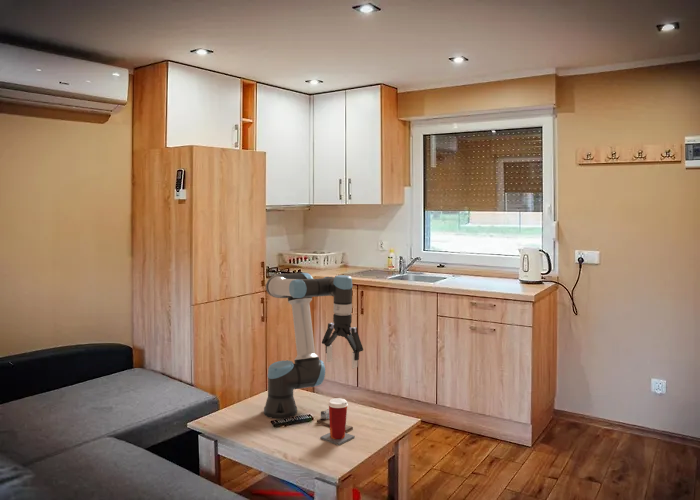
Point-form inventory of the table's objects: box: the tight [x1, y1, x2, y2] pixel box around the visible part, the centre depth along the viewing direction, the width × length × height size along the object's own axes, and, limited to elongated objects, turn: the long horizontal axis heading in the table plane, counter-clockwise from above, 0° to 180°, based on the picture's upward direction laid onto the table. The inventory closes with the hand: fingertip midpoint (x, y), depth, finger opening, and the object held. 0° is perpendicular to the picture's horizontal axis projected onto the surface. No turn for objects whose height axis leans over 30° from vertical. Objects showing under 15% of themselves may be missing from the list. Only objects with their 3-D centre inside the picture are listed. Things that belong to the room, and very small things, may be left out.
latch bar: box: [320, 408, 329, 419], centre depth 260 cm, size 15×3×3 cm, turn 144°
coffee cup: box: [327, 397, 349, 439], centre depth 238 cm, size 8×8×15 cm
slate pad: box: [320, 432, 355, 446], centre depth 238 cm, size 10×10×1 cm
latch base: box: [316, 417, 354, 434], centre depth 251 cm, size 17×4×1 cm, turn 51°
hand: (341, 364), depth 237 cm, fingers open, 13 cm apart
